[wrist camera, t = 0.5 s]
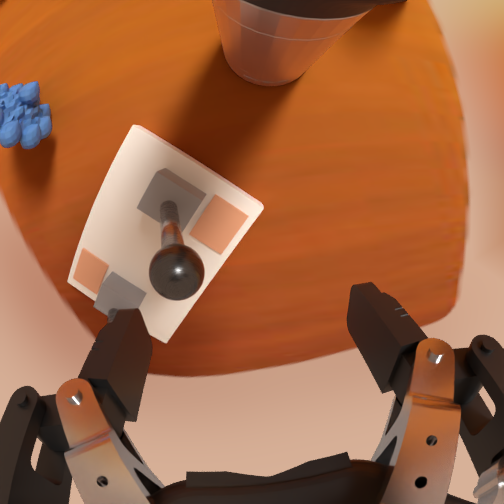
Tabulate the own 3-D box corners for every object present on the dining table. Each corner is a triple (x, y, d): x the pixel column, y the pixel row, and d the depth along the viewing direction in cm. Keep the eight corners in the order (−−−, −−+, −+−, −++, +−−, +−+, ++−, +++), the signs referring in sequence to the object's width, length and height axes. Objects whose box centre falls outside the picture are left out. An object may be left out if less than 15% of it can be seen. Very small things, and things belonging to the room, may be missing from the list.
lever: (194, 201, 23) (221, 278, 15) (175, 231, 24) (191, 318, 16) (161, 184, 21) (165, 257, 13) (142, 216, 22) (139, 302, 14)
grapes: (89, 113, 24) (20, 110, 13) (58, 155, 25) (-10, 173, 14) (48, 64, 20) (-14, 52, 9) (21, 104, 22) (-42, 107, 11)
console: (262, 203, 29) (266, 216, 24) (169, 334, 36) (161, 358, 31) (139, 125, 25) (120, 124, 20) (74, 274, 32) (56, 293, 27)
